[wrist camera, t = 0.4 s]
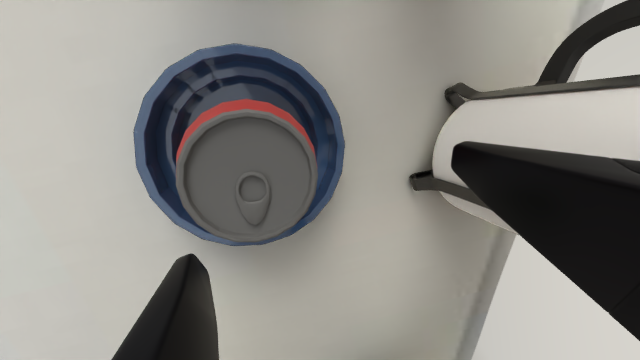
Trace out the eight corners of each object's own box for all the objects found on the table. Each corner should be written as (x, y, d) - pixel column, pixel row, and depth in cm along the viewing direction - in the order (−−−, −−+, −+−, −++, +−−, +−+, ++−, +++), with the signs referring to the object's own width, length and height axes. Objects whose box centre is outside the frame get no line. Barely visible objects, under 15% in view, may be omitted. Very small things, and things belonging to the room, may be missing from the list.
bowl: (295, 238, 25) (304, 263, 20) (136, 196, 20) (106, 217, 16) (349, 104, 23) (372, 101, 19) (190, 25, 18) (172, -2, 14)
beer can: (213, 188, 21) (173, 266, 10) (203, 107, 20) (143, 93, 8) (290, 182, 23) (330, 243, 12) (287, 107, 21) (329, 95, 10)
